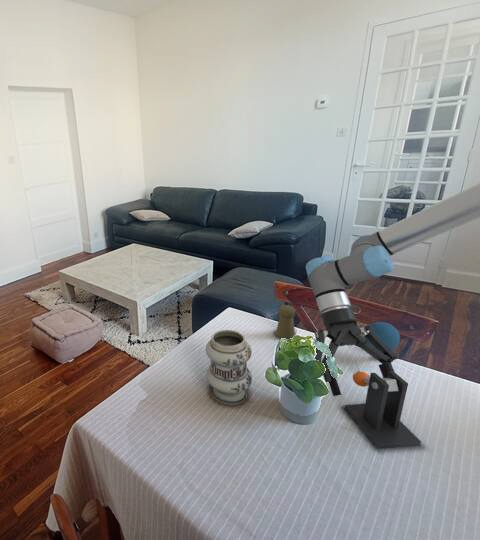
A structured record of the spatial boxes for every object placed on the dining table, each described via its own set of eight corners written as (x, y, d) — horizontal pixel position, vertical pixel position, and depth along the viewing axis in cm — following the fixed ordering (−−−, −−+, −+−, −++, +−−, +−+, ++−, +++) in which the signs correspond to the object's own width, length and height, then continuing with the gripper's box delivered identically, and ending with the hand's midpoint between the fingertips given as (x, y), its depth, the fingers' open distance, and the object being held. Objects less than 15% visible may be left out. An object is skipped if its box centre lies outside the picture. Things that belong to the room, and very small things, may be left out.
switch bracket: (344, 408, 85) (350, 363, 80) (380, 405, 85) (389, 359, 80) (377, 449, 74) (388, 398, 69) (420, 445, 73) (433, 395, 69)
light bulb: (373, 347, 106) (379, 314, 102) (402, 361, 99) (409, 326, 94) (353, 355, 104) (359, 321, 99) (382, 370, 96) (389, 334, 92)
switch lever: (351, 386, 85) (348, 371, 86) (366, 384, 85) (362, 370, 86) (385, 394, 73) (381, 377, 74) (402, 393, 73) (398, 376, 74)
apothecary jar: (218, 373, 103) (217, 321, 97) (258, 388, 95) (260, 333, 89) (198, 396, 95) (196, 341, 88) (240, 414, 87) (241, 356, 81)
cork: (279, 328, 122) (281, 301, 118) (297, 333, 118) (299, 305, 114) (272, 336, 118) (274, 308, 114) (290, 341, 114) (293, 312, 110)
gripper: (374, 310, 95) (406, 390, 86) (284, 319, 96) (307, 398, 87) (391, 302, 88) (428, 387, 79) (294, 311, 89) (320, 396, 80)
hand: (365, 393), depth 83 cm, fingers open, 13 cm apart
